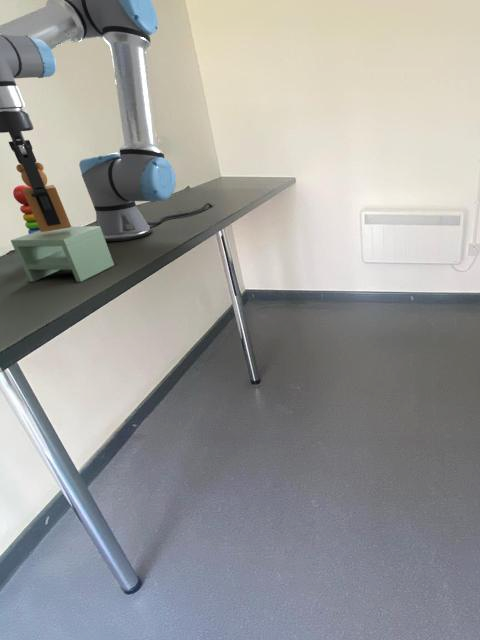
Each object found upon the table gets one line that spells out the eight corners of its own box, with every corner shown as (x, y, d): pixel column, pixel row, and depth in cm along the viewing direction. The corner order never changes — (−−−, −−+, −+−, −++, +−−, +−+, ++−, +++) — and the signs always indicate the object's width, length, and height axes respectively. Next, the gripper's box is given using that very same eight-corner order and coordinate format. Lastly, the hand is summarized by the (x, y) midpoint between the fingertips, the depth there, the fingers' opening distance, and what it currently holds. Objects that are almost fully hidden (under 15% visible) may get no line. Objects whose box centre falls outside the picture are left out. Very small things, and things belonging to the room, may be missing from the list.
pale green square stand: (67, 265, 129) (50, 226, 124) (114, 265, 127) (100, 226, 122) (29, 281, 118) (10, 240, 113) (81, 281, 116) (63, 239, 111)
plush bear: (39, 228, 117) (11, 164, 109) (69, 223, 120) (43, 160, 112) (41, 232, 113) (11, 166, 106) (71, 227, 116) (45, 162, 109)
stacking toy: (63, 250, 142) (34, 181, 132) (73, 254, 138) (44, 183, 128) (33, 257, 137) (0, 186, 127) (43, 261, 133) (10, 188, 123)
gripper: (-15, 111, 108) (33, 218, 121) (-17, 112, 95) (37, 232, 108) (24, 109, 112) (67, 213, 124) (28, 109, 99) (75, 226, 112)
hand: (53, 222), depth 116 cm, fingers closed on plush bear, 5 cm apart
